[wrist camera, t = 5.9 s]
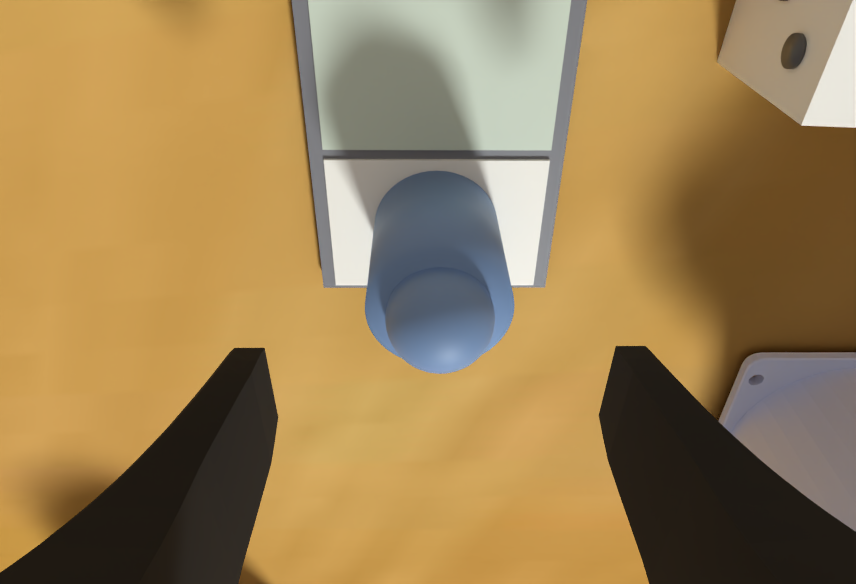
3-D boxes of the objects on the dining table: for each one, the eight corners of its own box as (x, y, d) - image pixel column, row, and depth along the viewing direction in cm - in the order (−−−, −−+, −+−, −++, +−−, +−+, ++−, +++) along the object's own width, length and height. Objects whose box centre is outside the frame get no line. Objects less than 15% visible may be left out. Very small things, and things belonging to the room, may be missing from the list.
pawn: (492, 277, 19) (515, 411, 15) (377, 277, 19) (364, 411, 15) (501, 170, 17) (531, 289, 13) (371, 170, 17) (355, 289, 13)
